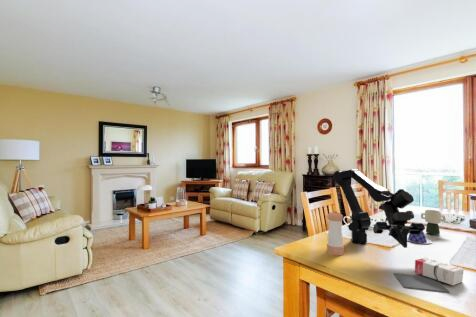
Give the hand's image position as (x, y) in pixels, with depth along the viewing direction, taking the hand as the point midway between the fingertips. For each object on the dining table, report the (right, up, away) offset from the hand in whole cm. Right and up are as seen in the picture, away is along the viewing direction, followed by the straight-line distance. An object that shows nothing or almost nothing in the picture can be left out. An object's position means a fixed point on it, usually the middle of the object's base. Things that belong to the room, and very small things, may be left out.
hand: (405, 247), depth 103 cm
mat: (-4, -8, -14) cm, 16 cm away
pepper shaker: (-23, -8, +15) cm, 28 cm away
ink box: (+2, -5, -6) cm, 7 cm away
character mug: (+43, -7, +41) cm, 60 cm away
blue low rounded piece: (+26, -8, +30) cm, 41 cm away
